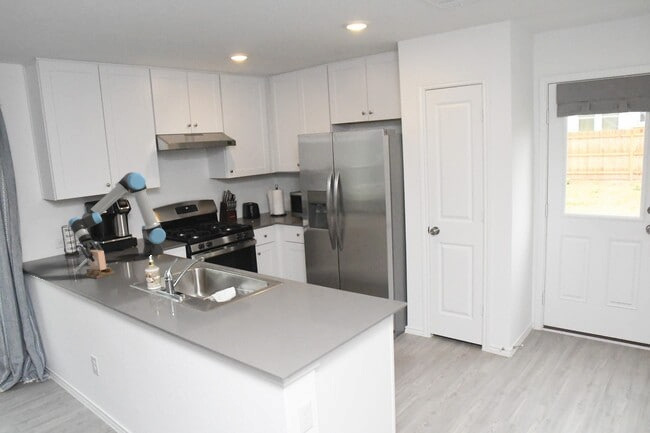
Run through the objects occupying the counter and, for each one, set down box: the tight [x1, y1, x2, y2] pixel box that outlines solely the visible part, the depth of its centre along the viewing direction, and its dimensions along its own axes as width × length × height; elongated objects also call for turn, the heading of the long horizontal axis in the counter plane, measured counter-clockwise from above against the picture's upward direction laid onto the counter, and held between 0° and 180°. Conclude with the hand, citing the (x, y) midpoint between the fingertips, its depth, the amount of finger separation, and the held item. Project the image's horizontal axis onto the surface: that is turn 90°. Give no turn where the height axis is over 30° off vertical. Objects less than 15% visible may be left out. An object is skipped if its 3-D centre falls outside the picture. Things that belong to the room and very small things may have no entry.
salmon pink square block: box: [89, 249, 107, 270], centre depth 302 cm, size 12×4×12 cm, turn 55°
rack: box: [84, 266, 116, 279], centre depth 303 cm, size 15×12×4 cm
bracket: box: [72, 257, 90, 274], centre depth 324 cm, size 3×21×10 cm, turn 174°
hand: (100, 263), depth 300 cm, fingers closed on salmon pink square block, 4 cm apart
